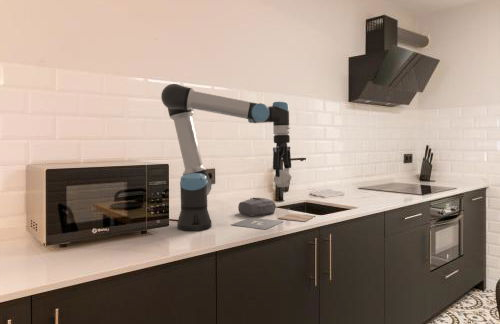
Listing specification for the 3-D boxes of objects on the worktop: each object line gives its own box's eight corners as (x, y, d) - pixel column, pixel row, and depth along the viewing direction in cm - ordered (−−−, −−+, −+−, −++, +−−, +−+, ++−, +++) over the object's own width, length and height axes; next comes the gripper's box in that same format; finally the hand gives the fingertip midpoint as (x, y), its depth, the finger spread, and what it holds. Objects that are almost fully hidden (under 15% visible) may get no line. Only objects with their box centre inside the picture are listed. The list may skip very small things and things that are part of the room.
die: (286, 189, 172) (296, 172, 175) (269, 180, 174) (279, 163, 176) (285, 193, 180) (294, 176, 183) (269, 184, 182) (279, 168, 184)
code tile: (265, 229, 161) (265, 229, 161) (230, 225, 170) (230, 224, 170) (283, 221, 176) (283, 221, 176) (250, 217, 185) (250, 217, 185)
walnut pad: (304, 222, 175) (304, 221, 175) (277, 218, 182) (277, 218, 182) (315, 216, 187) (315, 215, 187) (289, 213, 194) (289, 213, 194)
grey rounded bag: (252, 218, 185) (282, 213, 198) (252, 201, 185) (282, 197, 197) (234, 213, 197) (263, 208, 209) (234, 197, 196) (263, 194, 209)
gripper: (278, 134, 166) (280, 185, 168) (297, 134, 184) (298, 180, 185) (264, 135, 170) (265, 184, 172) (284, 134, 188) (285, 180, 189)
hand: (282, 182), depth 178 cm, fingers closed on die, 7 cm apart
